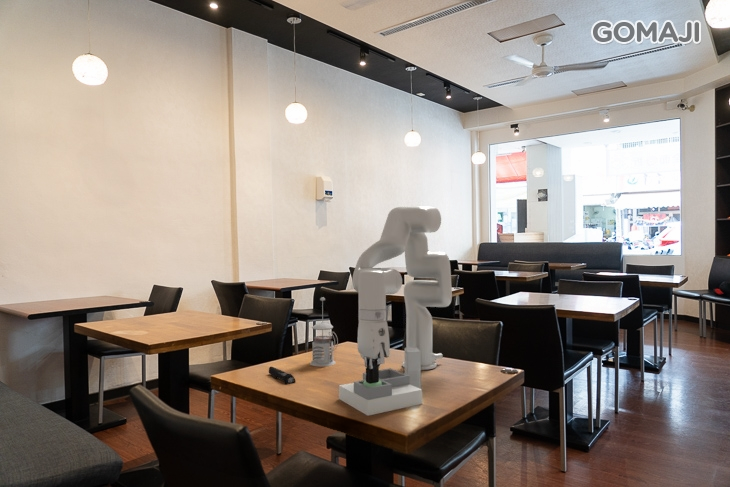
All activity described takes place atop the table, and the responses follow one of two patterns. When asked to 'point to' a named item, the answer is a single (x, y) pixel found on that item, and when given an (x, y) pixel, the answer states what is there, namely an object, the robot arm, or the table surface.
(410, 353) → the skincare box
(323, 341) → the french press
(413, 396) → the white socket tray
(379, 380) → the on button
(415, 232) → the robot arm
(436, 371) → the table surface
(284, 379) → the electric trimmer
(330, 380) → the table surface
